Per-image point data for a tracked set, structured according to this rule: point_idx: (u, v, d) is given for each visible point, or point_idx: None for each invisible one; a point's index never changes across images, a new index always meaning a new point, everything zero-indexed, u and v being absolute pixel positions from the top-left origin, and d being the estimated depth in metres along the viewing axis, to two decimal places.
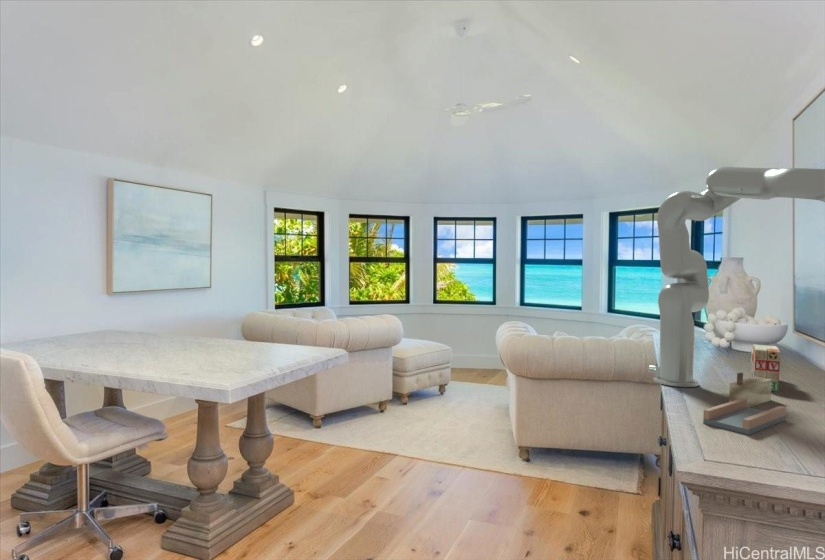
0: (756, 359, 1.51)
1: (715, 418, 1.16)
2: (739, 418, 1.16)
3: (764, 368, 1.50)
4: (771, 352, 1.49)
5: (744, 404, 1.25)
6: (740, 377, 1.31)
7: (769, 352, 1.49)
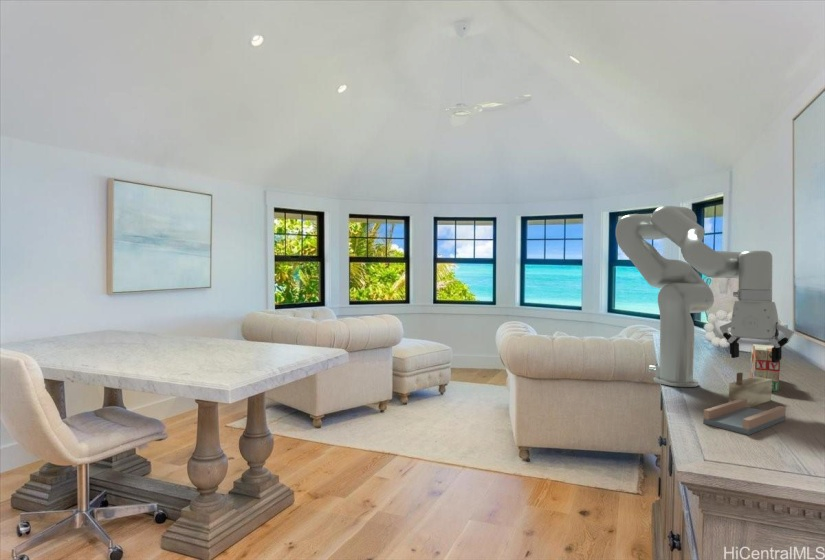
0: (756, 359, 1.51)
1: (715, 418, 1.16)
2: (739, 418, 1.16)
3: (765, 368, 1.50)
4: (771, 352, 1.49)
5: (744, 404, 1.25)
6: (740, 377, 1.31)
7: (769, 352, 1.50)
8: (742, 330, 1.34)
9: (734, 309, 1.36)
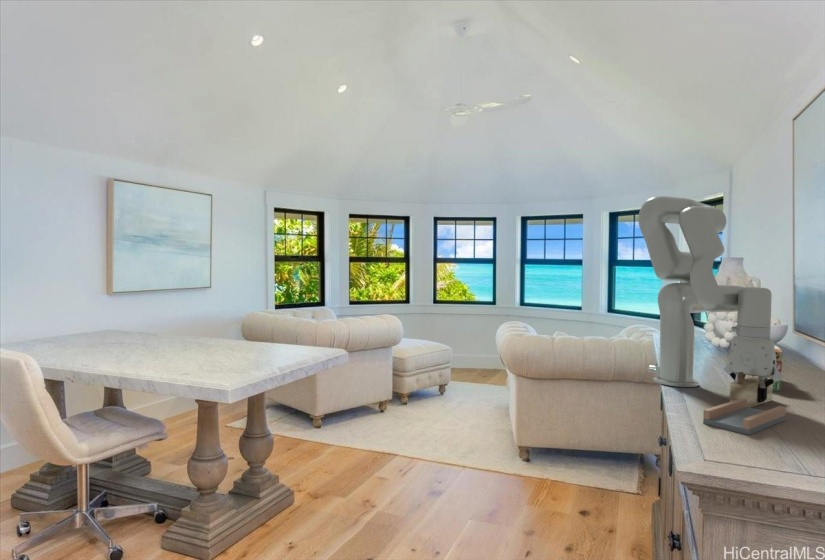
0: None
1: (715, 418, 1.16)
2: (739, 418, 1.16)
3: None
4: None
5: (744, 404, 1.25)
6: (741, 376, 1.31)
7: None
8: (739, 366, 1.35)
9: (732, 344, 1.37)
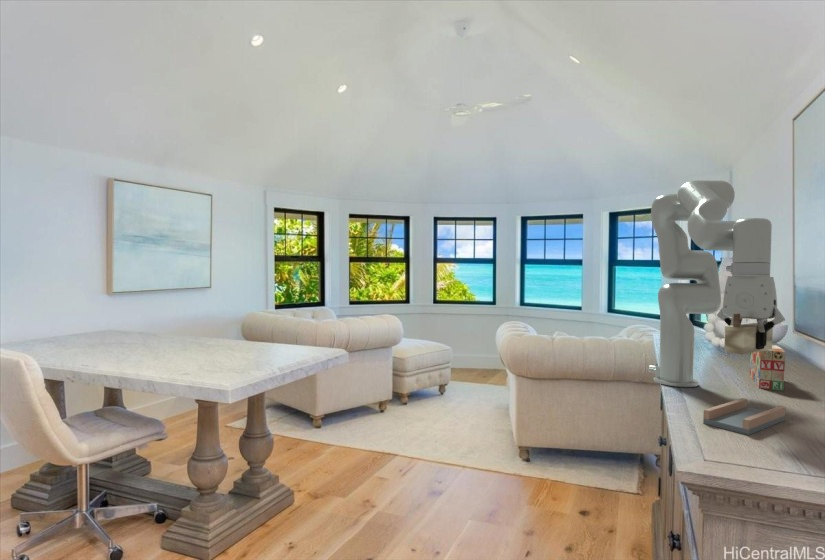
0: (761, 359, 1.51)
1: (715, 418, 1.16)
2: (739, 418, 1.16)
3: (770, 368, 1.51)
4: (776, 352, 1.50)
5: (744, 404, 1.25)
6: (737, 318, 1.14)
7: (774, 352, 1.50)
8: (735, 309, 1.18)
9: (727, 285, 1.20)
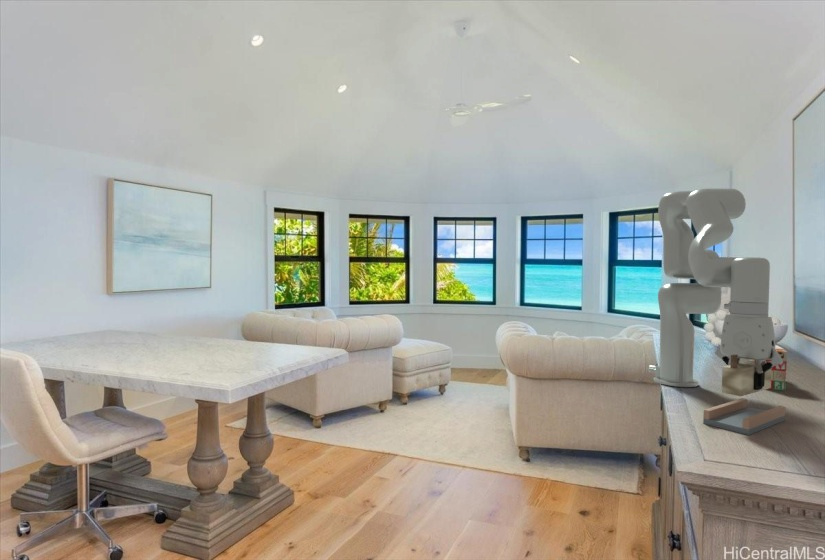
0: None
1: (715, 418, 1.16)
2: (739, 418, 1.16)
3: (771, 368, 1.51)
4: (778, 352, 1.50)
5: (744, 404, 1.25)
6: (735, 359, 1.13)
7: None
8: (733, 348, 1.17)
9: (725, 324, 1.19)
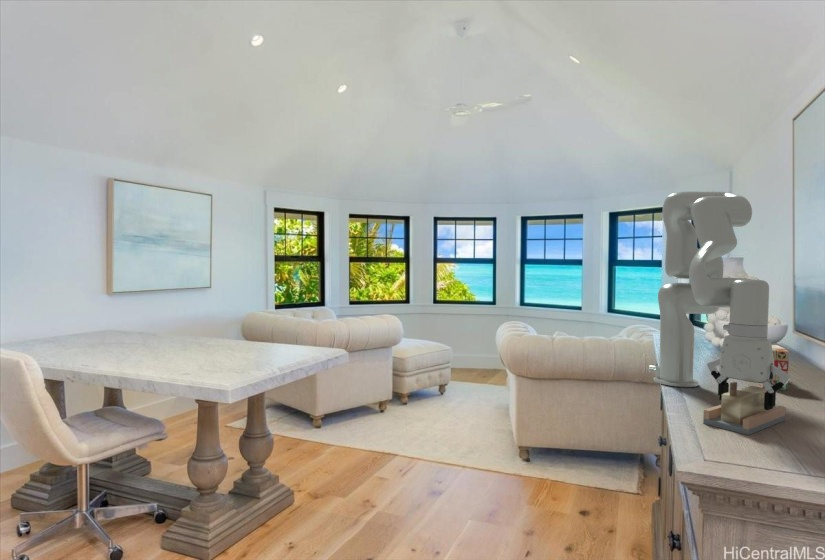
0: None
1: (715, 418, 1.16)
2: None
3: None
4: (780, 352, 1.50)
5: None
6: (734, 387, 1.13)
7: (778, 352, 1.50)
8: (732, 370, 1.17)
9: (724, 345, 1.19)
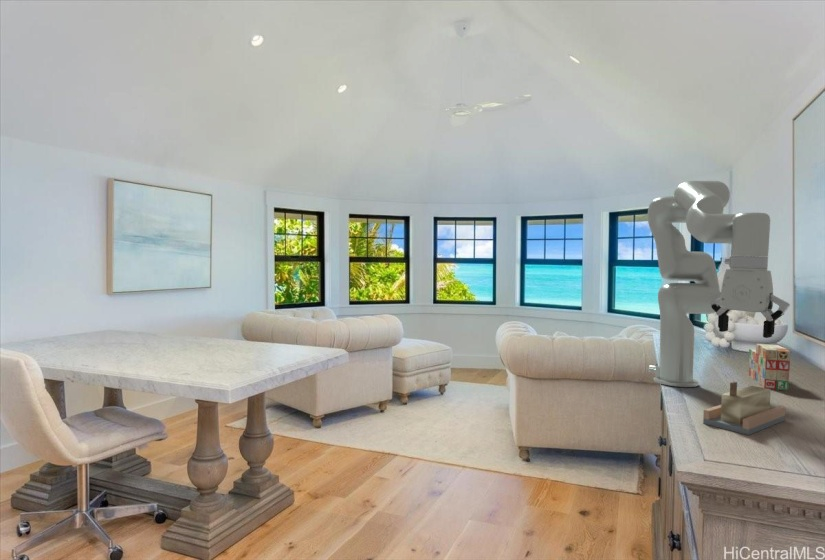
0: (767, 359, 1.52)
1: (715, 418, 1.16)
2: None
3: (775, 368, 1.51)
4: (781, 352, 1.50)
5: None
6: (734, 387, 1.13)
7: (779, 352, 1.50)
8: (732, 301, 1.21)
9: (725, 278, 1.22)
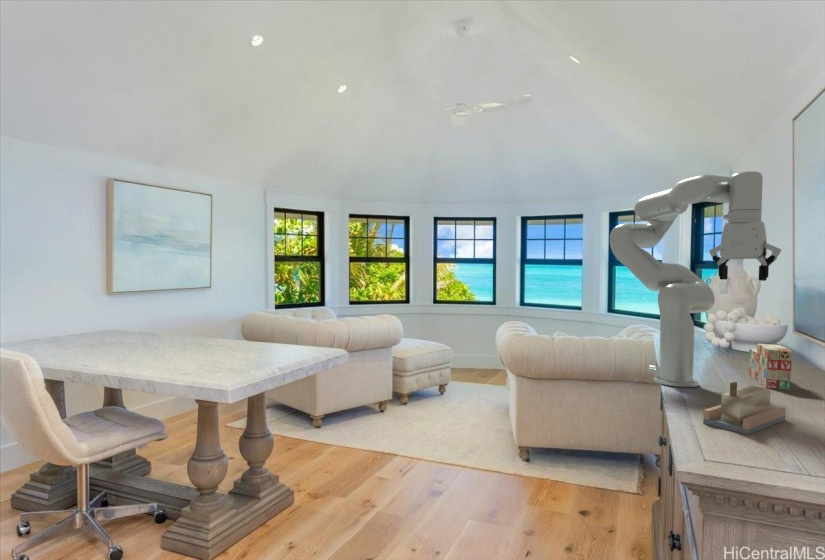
0: (768, 359, 1.52)
1: (715, 418, 1.16)
2: None
3: (776, 368, 1.51)
4: (783, 351, 1.50)
5: None
6: (734, 387, 1.13)
7: (781, 351, 1.51)
8: (731, 251, 1.37)
9: (724, 231, 1.38)
